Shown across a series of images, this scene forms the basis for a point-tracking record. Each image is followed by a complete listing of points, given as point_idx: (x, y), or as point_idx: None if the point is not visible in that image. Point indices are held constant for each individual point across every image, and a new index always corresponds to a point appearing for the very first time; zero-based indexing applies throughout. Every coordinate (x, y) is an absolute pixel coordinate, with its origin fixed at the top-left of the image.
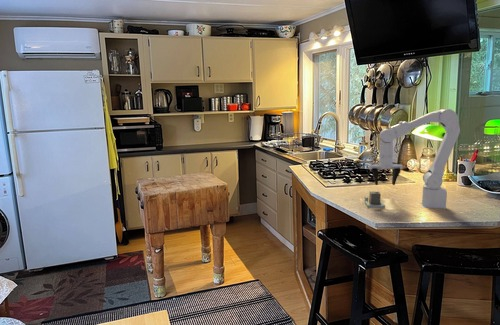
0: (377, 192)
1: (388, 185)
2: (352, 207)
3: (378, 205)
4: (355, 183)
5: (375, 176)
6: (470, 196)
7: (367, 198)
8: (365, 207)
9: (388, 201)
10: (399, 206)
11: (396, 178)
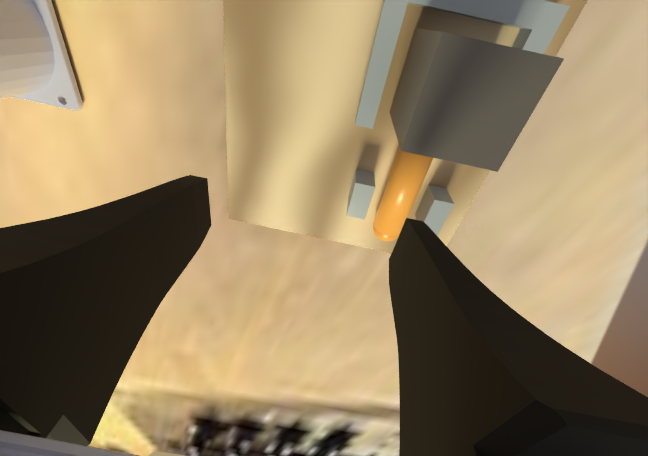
0: (437, 114)
1: (202, 384)
2: (639, 82)
3: None
4: (318, 419)
5: (502, 305)
6: None
7: (438, 197)
8: (569, 16)
9: (281, 171)
10: (239, 15)
11: (102, 205)
